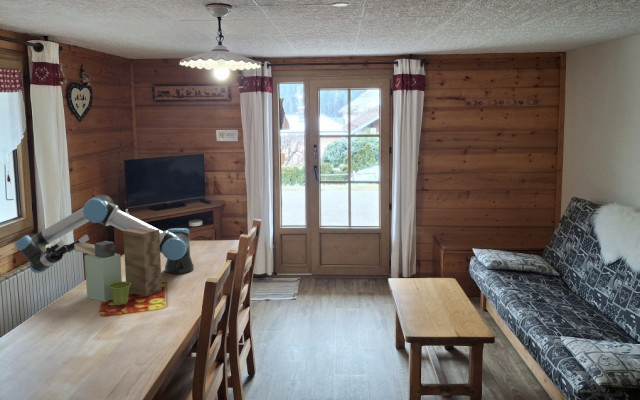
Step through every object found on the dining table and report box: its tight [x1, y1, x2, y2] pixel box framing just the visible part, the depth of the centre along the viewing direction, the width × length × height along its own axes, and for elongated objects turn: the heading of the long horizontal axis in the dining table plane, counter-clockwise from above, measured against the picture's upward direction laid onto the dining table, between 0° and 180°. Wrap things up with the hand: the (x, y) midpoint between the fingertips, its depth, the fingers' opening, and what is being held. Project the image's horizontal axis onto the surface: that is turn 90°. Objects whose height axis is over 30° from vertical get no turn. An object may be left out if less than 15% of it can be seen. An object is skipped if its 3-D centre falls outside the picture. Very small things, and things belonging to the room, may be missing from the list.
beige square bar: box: [74, 240, 116, 258], centre depth 259 cm, size 6×22×6 cm, turn 60°
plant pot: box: [109, 280, 131, 306], centre depth 251 cm, size 9×9×9 cm
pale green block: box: [84, 253, 123, 303], centre depth 258 cm, size 10×12×20 cm
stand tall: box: [122, 227, 163, 297], centre depth 266 cm, size 10×13×30 cm
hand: (75, 239), depth 265 cm, fingers open, 13 cm apart
